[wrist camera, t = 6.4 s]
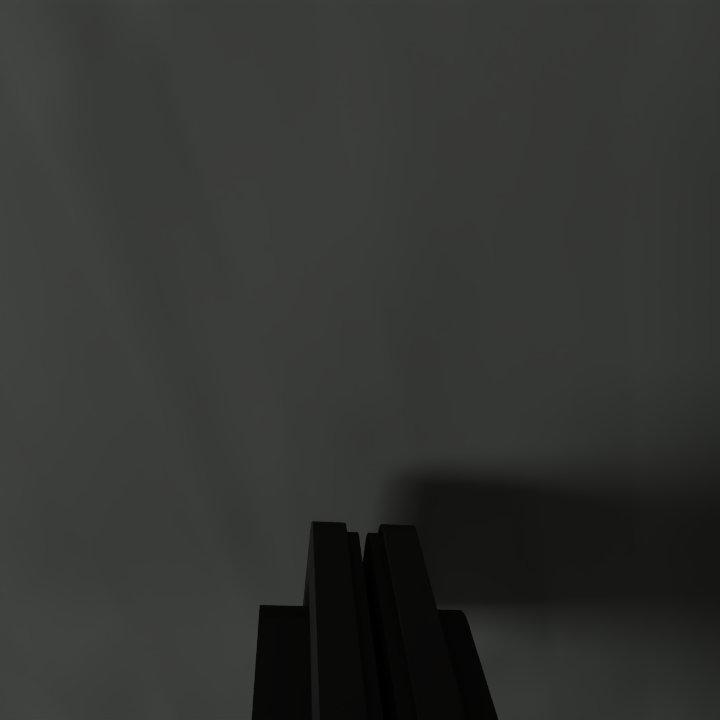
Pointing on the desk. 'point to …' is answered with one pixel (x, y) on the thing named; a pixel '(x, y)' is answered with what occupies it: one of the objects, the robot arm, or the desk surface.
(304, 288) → the desk surface
